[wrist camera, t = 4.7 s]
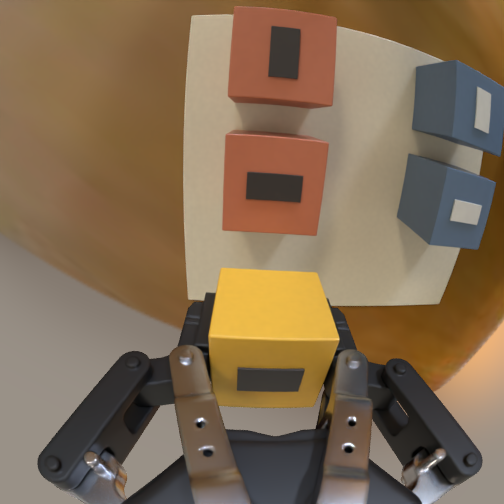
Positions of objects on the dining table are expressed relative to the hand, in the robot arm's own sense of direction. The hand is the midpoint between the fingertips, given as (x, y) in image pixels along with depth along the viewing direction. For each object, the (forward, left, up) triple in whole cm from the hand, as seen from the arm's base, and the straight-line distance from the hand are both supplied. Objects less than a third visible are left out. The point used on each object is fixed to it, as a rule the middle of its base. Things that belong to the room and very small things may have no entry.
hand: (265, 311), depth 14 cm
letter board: (-6, +5, -6) cm, 10 cm away
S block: (0, 0, 0) cm, 0 cm away
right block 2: (-6, +11, -6) cm, 14 cm away
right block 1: (-12, +11, -6) cm, 17 cm away
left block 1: (-12, 0, -6) cm, 13 cm away
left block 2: (-6, 0, -6) cm, 8 cm away
